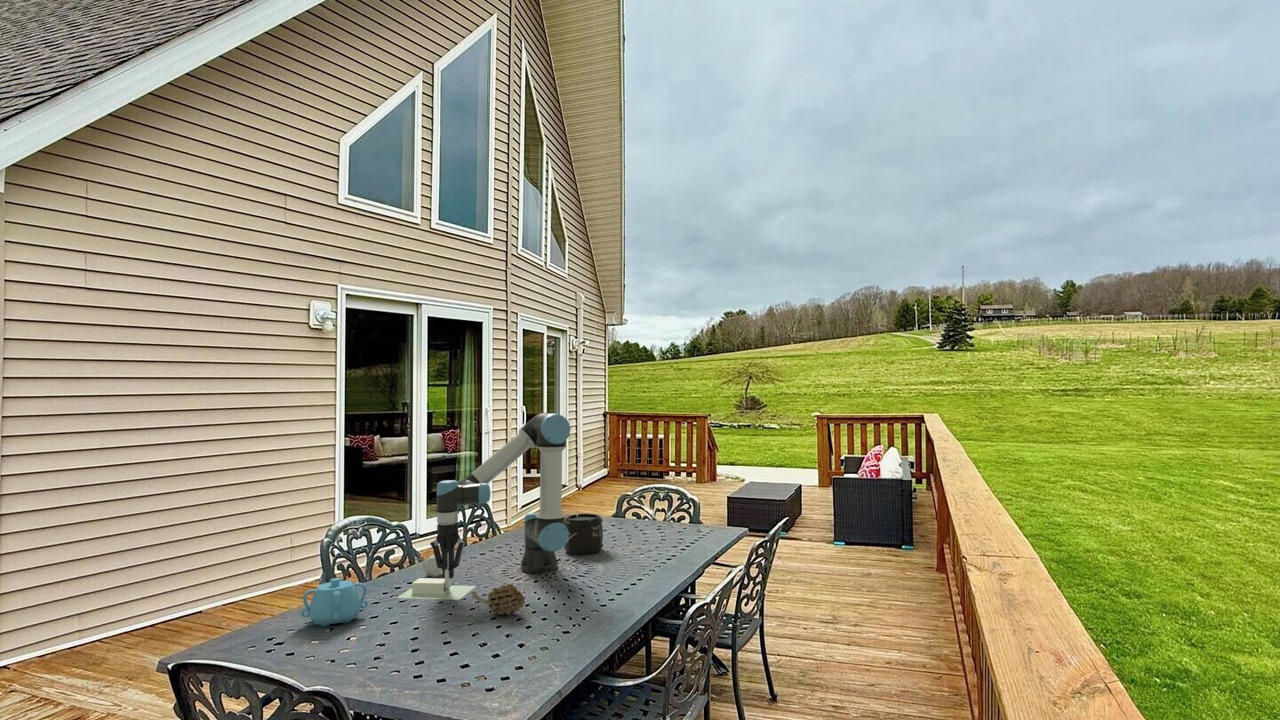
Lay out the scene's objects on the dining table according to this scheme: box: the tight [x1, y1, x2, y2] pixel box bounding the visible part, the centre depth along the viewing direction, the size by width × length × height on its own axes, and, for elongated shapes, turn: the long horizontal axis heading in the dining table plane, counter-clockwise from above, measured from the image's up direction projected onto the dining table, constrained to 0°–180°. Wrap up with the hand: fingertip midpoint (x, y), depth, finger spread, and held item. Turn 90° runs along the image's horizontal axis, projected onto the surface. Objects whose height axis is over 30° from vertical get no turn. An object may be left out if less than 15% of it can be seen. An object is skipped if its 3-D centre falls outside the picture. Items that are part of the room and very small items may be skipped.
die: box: [421, 554, 443, 578], centre depth 268 cm, size 8×9×10 cm
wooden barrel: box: [563, 513, 604, 557], centre depth 303 cm, size 18×18×16 cm
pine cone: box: [471, 583, 526, 616], centre depth 222 cm, size 22×10×10 cm, turn 68°
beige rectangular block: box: [411, 577, 450, 595], centre depth 246 cm, size 4×6×12 cm
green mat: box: [395, 584, 477, 601], centre depth 246 cm, size 24×16×1 cm, turn 82°
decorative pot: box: [300, 577, 369, 628], centre depth 218 cm, size 16×16×14 cm
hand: (448, 587), depth 245 cm, fingers closed
